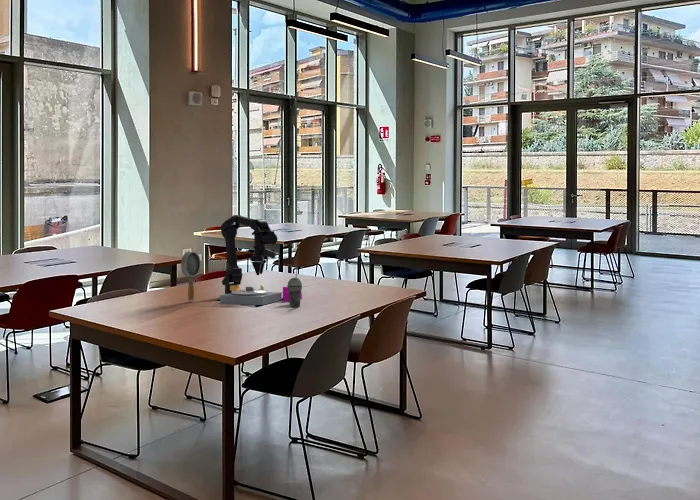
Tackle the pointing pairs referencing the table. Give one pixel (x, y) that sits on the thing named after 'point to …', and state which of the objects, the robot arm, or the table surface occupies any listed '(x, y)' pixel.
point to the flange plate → (246, 291)
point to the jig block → (251, 298)
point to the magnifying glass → (190, 270)
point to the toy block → (286, 294)
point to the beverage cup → (294, 291)
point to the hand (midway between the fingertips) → (259, 274)
